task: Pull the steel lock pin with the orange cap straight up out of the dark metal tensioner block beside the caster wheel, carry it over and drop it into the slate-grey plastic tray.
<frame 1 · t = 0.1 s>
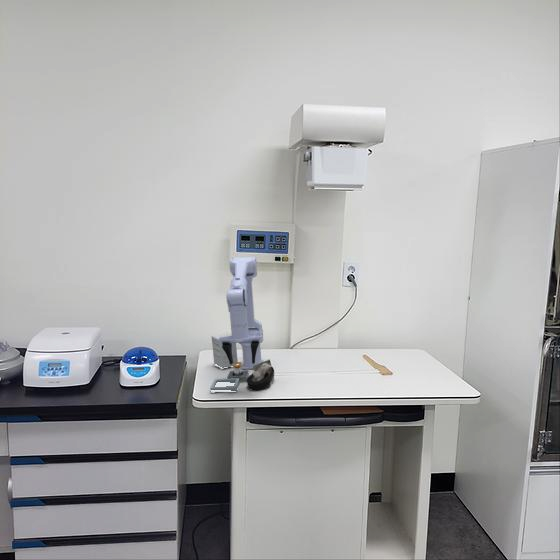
hand: (242, 363, 170), 10 cm above the table, tool pointing down, fingers open, 7 cm apart
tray: (225, 387, 176), on the table
caster wheel: (262, 386, 177), on the table
grey box: (226, 366, 201), on the table
tensioner block: (238, 379, 185), on the table
lock pin: (237, 371, 184), in the tensioner block
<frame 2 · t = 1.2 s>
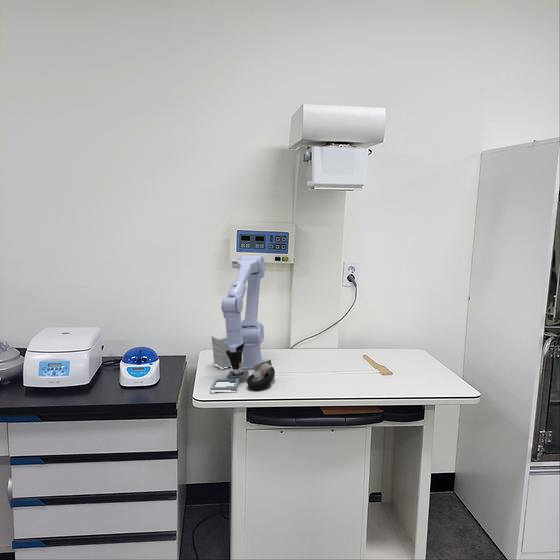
hand: (237, 365, 184), 5 cm above the table, tool pointing down, fingers open, 7 cm apart
nothing on the table moved.
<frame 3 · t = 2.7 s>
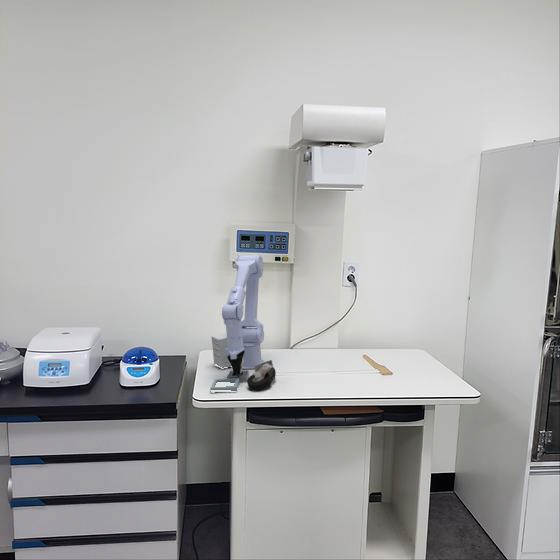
hand: (237, 372, 184), 3 cm above the table, tool pointing down, fingers closed on lock pin, 3 cm apart
lock pin: (237, 371, 184), in the tensioner block, touching gripper
everything else where it was.
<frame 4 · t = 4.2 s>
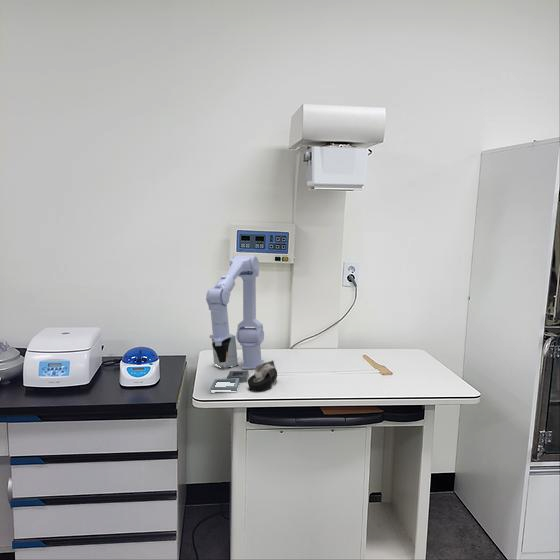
hand: (223, 360, 175), 10 cm above the table, tool pointing down, fingers closed on lock pin, 3 cm apart
lock pin: (223, 360, 175), point 10 cm above the table, touching gripper
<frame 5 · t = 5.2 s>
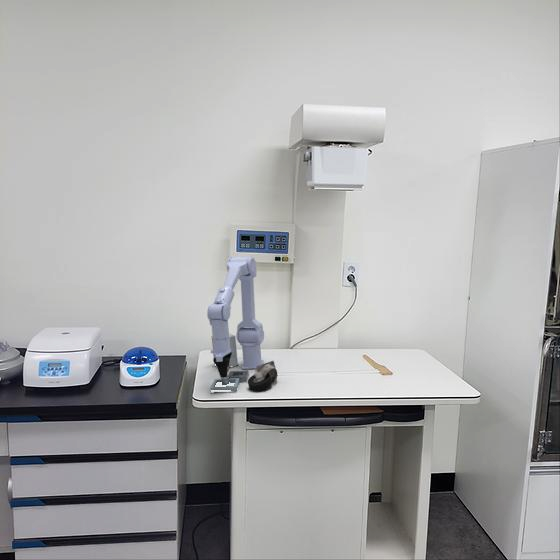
hand: (224, 375, 176), 5 cm above the table, tool pointing down, fingers closed on lock pin, 3 cm apart
lock pin: (224, 375, 176), point 5 cm above the table, touching gripper
when the fingers open (4 cm above the table, at t = 6.1 s): lock pin stays where it is, resting on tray.
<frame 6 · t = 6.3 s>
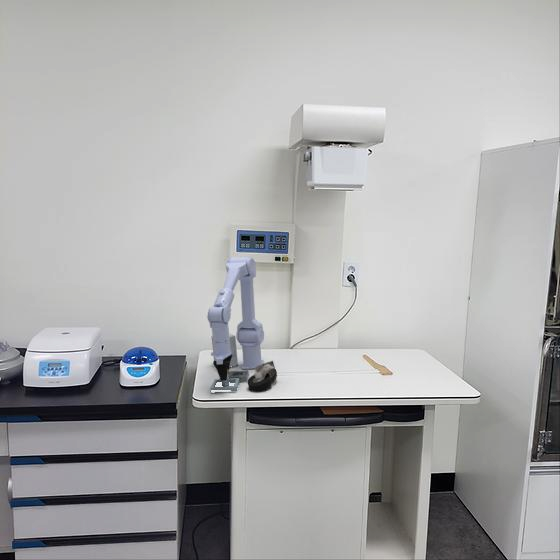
hand: (224, 377, 176), 4 cm above the table, tool pointing down, fingers open, 4 cm apart
lock pin: (224, 378, 176), in the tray
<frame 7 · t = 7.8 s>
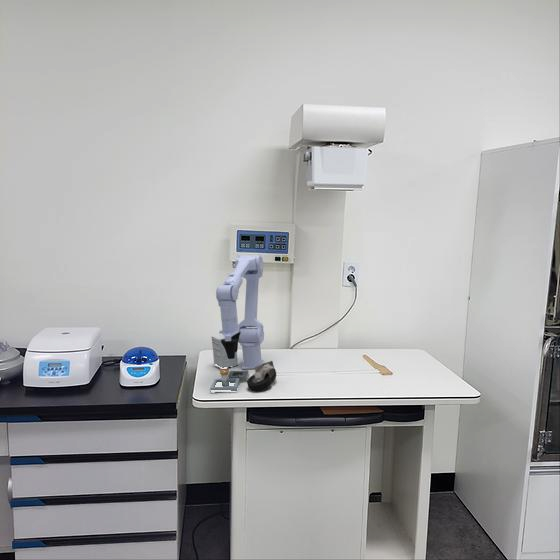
hand: (232, 355, 180), 10 cm above the table, tool pointing down, fingers open, 7 cm apart
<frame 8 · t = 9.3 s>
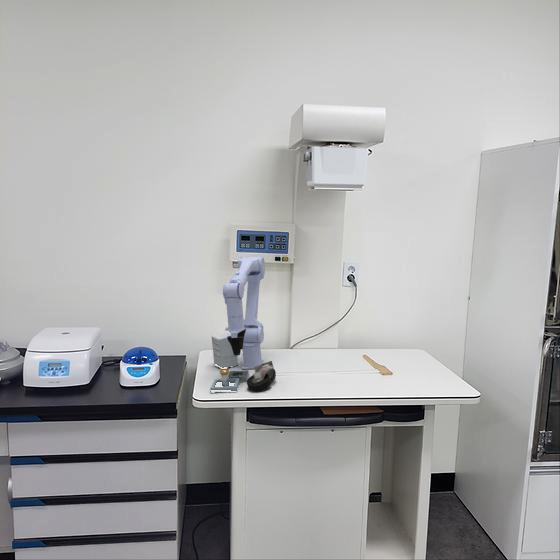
hand: (238, 352, 182), 10 cm above the table, tool pointing down, fingers open, 7 cm apart
at the end: lock pin inside the target area on the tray (0.2 cm from its centre), point 3.5 cm above the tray's base; the gripper is holding nothing; lock pin moved 9.0 cm from its start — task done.
